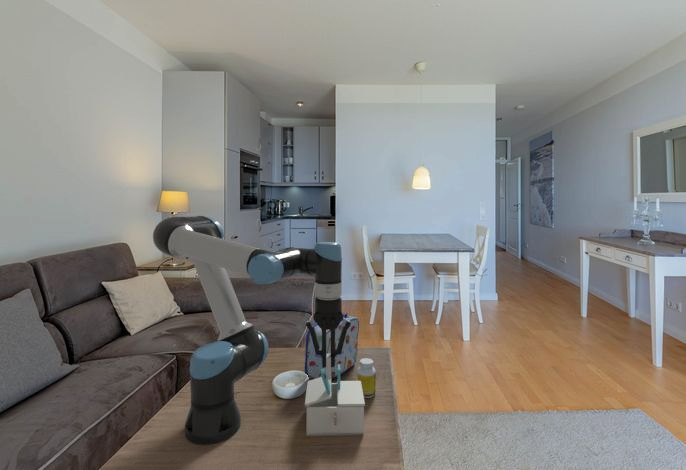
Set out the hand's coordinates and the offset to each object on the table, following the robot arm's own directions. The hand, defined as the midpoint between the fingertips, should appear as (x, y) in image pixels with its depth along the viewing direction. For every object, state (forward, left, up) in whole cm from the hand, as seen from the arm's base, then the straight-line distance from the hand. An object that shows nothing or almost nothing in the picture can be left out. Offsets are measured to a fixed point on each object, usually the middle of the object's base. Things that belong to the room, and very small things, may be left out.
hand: (328, 377), depth 101 cm
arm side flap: (-3, +3, -6) cm, 7 cm away
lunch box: (+2, +35, -15) cm, 38 cm away
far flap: (+6, +3, -7) cm, 10 cm away
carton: (+2, +2, -15) cm, 15 cm away
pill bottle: (+13, +18, -15) cm, 27 cm away
